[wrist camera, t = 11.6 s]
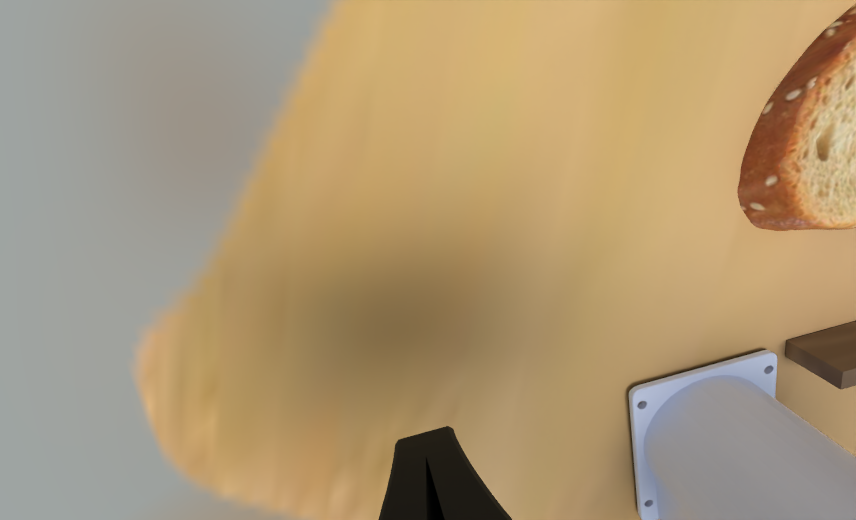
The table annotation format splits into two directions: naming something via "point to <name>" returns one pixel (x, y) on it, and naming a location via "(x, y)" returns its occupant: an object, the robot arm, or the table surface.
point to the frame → (827, 354)
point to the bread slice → (807, 141)
